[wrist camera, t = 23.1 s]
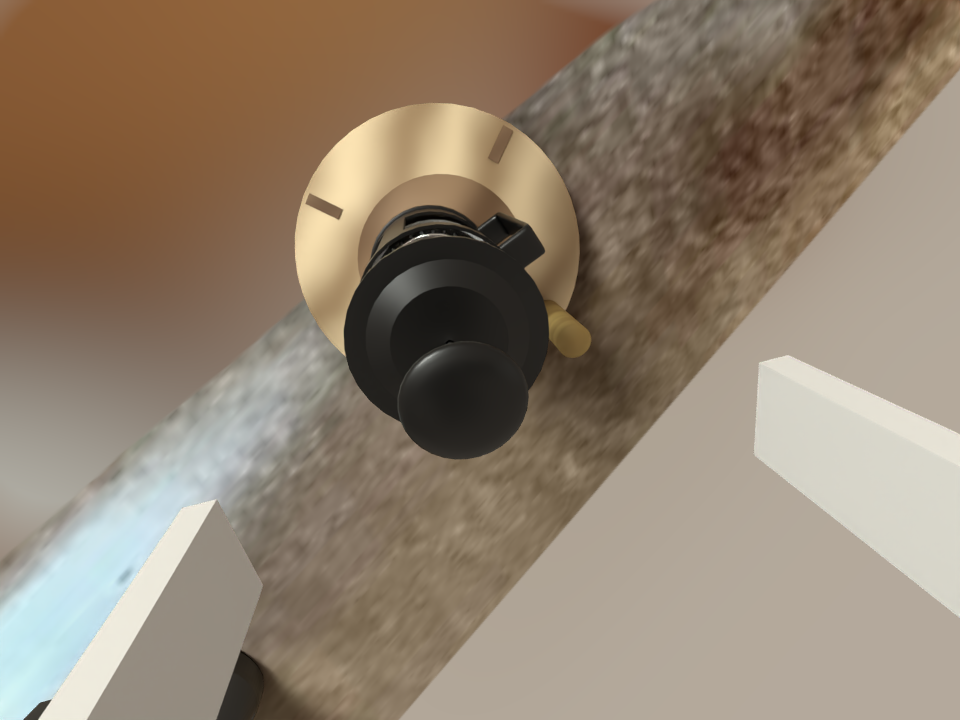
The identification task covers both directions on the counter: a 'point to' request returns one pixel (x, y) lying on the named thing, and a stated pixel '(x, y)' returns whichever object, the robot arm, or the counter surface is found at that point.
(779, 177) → the counter surface
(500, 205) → the turntable
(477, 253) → the french press
